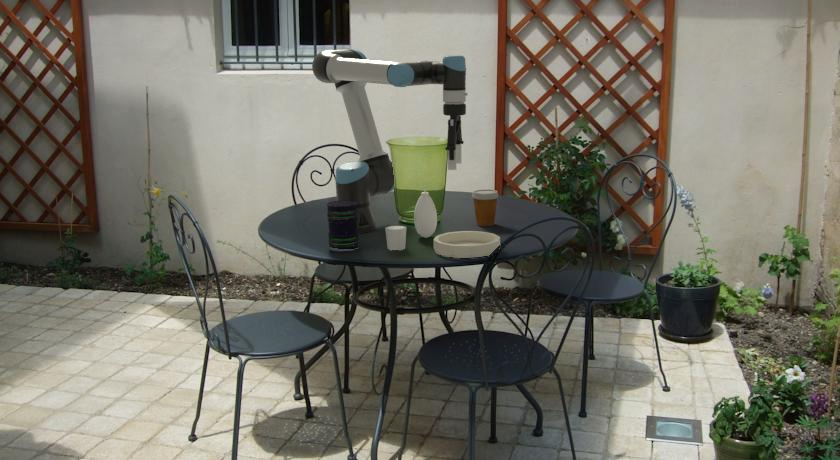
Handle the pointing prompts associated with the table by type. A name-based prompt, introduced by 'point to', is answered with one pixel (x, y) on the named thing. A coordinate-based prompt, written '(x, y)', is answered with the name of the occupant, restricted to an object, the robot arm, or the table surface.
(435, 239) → the cream bowl
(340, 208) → the storage jar
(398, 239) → the shot glass
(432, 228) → the sauce bottle
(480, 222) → the disposable coffee cup
